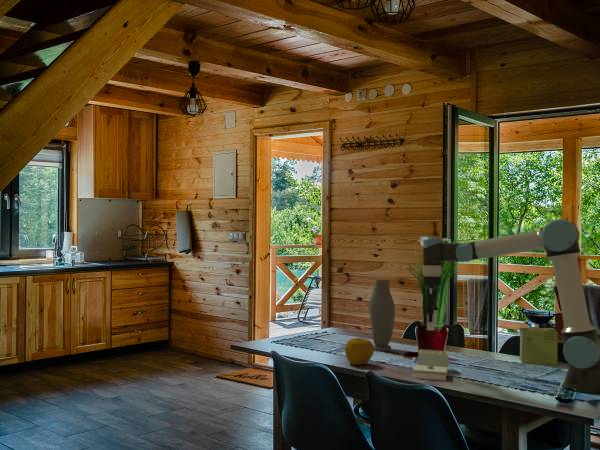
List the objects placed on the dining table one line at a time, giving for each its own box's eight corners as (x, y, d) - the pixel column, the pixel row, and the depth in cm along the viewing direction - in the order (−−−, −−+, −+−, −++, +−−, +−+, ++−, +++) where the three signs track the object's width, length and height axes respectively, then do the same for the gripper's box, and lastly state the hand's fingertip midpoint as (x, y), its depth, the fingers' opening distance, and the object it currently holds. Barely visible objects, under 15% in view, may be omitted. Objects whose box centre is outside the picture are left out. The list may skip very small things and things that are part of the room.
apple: (375, 362, 286) (376, 337, 286) (371, 368, 273) (371, 341, 274) (347, 360, 289) (348, 335, 289) (341, 365, 277) (342, 339, 277)
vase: (394, 351, 315) (395, 280, 316) (367, 350, 317) (369, 280, 318) (394, 348, 328) (395, 279, 329) (369, 347, 330) (370, 279, 331)
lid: (447, 375, 262) (447, 365, 262) (445, 381, 252) (446, 370, 252) (415, 373, 266) (415, 362, 266) (412, 378, 256) (412, 367, 256)
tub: (448, 368, 275) (448, 351, 276) (447, 372, 268) (447, 354, 268) (419, 366, 279) (420, 349, 279) (418, 370, 271) (418, 352, 271)
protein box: (557, 365, 290) (558, 331, 290) (522, 363, 293) (522, 329, 293) (553, 361, 300) (553, 328, 300) (519, 359, 303) (519, 326, 303)
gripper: (439, 277, 247) (439, 332, 246) (443, 274, 271) (443, 324, 270) (419, 276, 249) (419, 331, 248) (425, 274, 273) (425, 324, 272)
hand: (431, 328), depth 259 cm, fingers open, 13 cm apart
